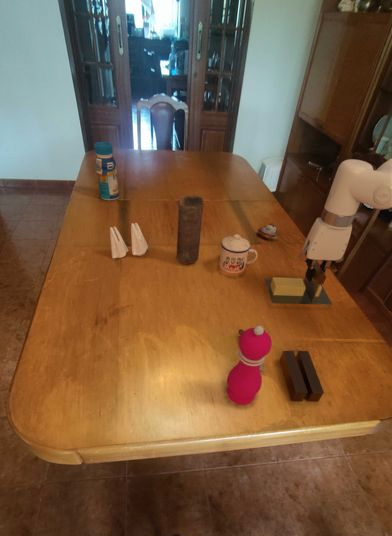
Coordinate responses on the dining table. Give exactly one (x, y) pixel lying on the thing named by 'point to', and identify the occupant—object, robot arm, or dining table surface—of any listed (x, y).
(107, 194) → the beverage bottle
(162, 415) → the dining table surface
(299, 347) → the dining table surface
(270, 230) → the pastry
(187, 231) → the candle
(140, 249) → the shaker set
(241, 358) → the pepper mill
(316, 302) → the slate board
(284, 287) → the butter
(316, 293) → the butter slice
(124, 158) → the dining table surface
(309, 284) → the dark brown flat block
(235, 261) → the teacup with lid
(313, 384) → the dark wooden bar pair
